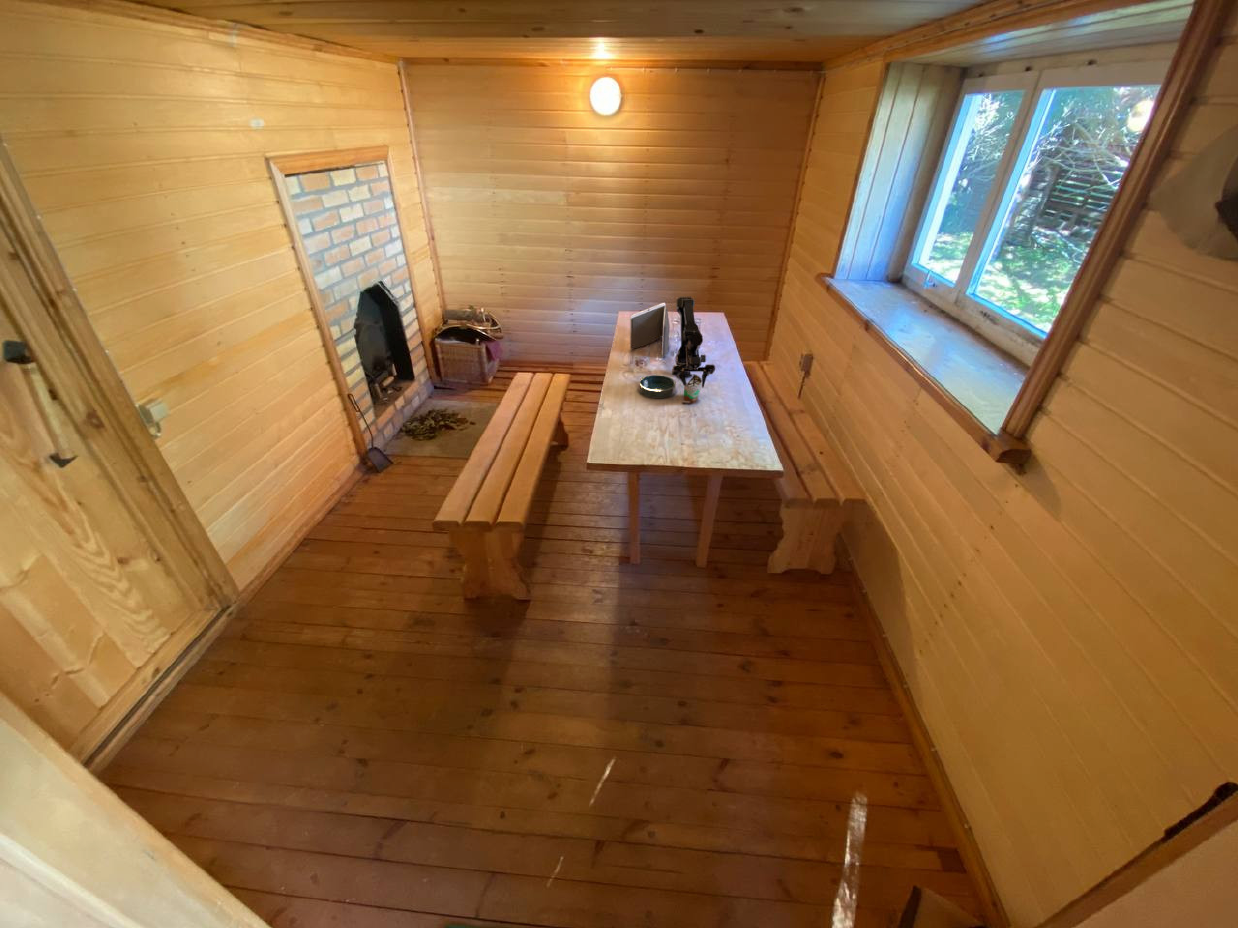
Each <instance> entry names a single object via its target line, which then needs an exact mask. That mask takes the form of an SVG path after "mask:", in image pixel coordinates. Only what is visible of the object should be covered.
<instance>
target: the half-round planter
mask: <svg viewBox="0 0 1238 928" xmlns="http://www.w3.org/2000/svg"><path fill="white" fill-rule="evenodd" d="M701 388H702V377H701V376H699V375H697V374H694V373H693V375H692V376H691V379H689V381H687V383H686V385H685V387H684V386H683V398H682V404H683V405H693V404H696V403H697V402H698V399H699V395H700V390H701Z"/></svg>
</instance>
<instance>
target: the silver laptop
mask: <svg viewBox="0 0 1238 928" xmlns="http://www.w3.org/2000/svg"><path fill="white" fill-rule="evenodd" d="M670 326H671V325H670V319H669V312H668V308H667V305H666V302H662V303H659V304H656V305H654V306H651V307H648V308H646V309H644V310H641V311H638V312H636V313H634V314H633V313H632V314H631V315H630V317H629V349H630V350H633V349H637V348H641V347H643V346H647V345H649V344H651V343H654V342H655V341H658V340H659V339H660V338H662V343H661V344H662V346H661V358H665V357H666V355H667V353H668V352H669V345H670V328H671V327H670Z"/></svg>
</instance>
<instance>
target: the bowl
mask: <svg viewBox="0 0 1238 928" xmlns="http://www.w3.org/2000/svg"><path fill="white" fill-rule="evenodd" d="M676 387H677V382H676V380H675V379H674V378H672V377H671V376H670V377H669V376H667V375H663V374H662V375H661V374H650V375H646V376H644V377H642V378H640V379H639V381H638V391H639V393H640V394H641V395H643V396H645V397H647V398H650V399H666V398H669V397H672V396H673V395H675V393H676V389H677V388H676Z"/></svg>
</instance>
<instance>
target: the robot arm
mask: <svg viewBox="0 0 1238 928" xmlns="http://www.w3.org/2000/svg"><path fill="white" fill-rule="evenodd" d="M677 297H678V298H676V299H675V307H676V312H677V314H678V315H679V317H680V322H679V323H680V346H679V348H678V350H677V353H676V355H675V358H674V359H675V360H674V361H675V364H674V365H673V366H672V369H671V374H672V376H676V377H678V378H679V380H680V381H681V383H682V385H683V388H684V387H685V385H687V380H686V378H692V377H693V375H692V373H693V372H695V373H696V372H697V373H698V372H699V373H700V372H702V374H701V380H702V387H701V388H702V389H704V387H705V383H706V380H707V378H708V377H709V376H710V375H713V374H714V373H715V371H716V365H714V364H712V363H711V364H705V366H702V363H706V361H707V359H706V354H700V351H699V350H700V349H701V346H702V345H703V341H704V339H703V334H702V333H701V331H700V329H699V328H700V327H699V325H698V324H697V323H696V321H695V320H696V319H695V314H694V307H695V298H692V296H677Z"/></svg>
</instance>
